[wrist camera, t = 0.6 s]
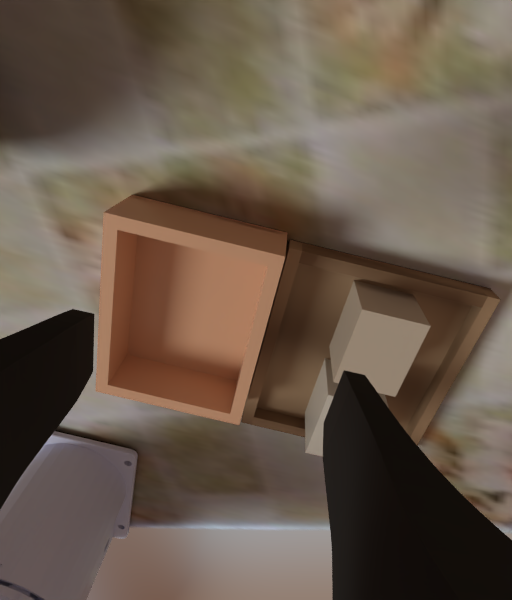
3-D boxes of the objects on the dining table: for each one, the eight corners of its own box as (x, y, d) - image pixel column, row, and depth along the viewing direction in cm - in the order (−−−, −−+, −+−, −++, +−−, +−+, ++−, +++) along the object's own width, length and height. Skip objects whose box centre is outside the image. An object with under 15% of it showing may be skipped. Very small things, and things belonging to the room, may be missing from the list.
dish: (246, 385, 24) (239, 425, 21) (120, 355, 24) (95, 391, 21) (287, 232, 20) (285, 256, 17) (132, 194, 19) (103, 212, 17)
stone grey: (354, 424, 24) (361, 465, 21) (304, 412, 24) (305, 452, 21) (378, 371, 22) (389, 409, 20) (324, 358, 22) (328, 394, 19)
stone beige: (383, 359, 22) (395, 396, 19) (329, 346, 22) (333, 382, 19) (413, 294, 20) (430, 326, 17) (353, 280, 20) (362, 309, 17)
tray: (403, 445, 25) (407, 461, 24) (243, 407, 25) (241, 421, 24) (489, 288, 20) (500, 299, 19) (290, 239, 20) (289, 248, 19)
